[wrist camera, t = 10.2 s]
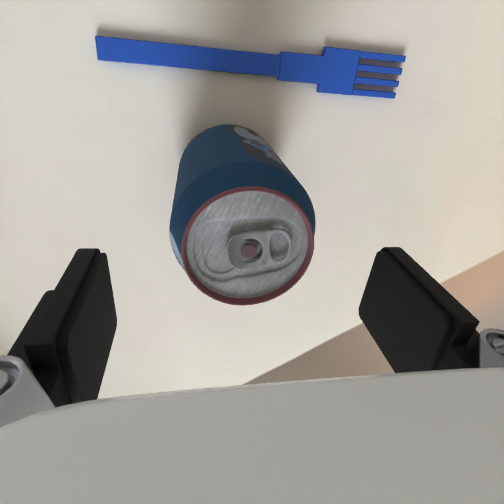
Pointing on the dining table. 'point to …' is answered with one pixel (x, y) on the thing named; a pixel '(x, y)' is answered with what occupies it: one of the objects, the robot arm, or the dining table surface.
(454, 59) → the dining table surface
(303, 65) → the blue fork
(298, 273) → the soda can
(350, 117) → the dining table surface
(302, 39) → the dining table surface
